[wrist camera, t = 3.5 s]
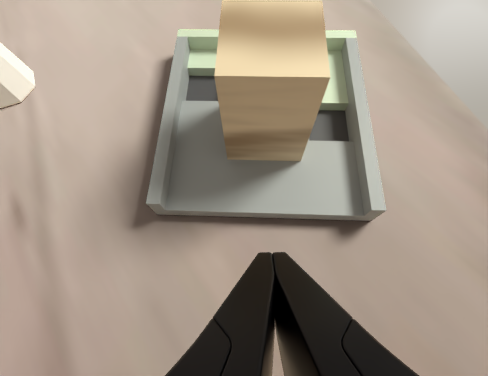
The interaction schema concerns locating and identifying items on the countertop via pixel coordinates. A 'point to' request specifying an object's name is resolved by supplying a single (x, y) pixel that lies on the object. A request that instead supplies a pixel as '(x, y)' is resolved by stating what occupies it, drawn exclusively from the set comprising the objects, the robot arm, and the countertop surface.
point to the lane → (263, 171)
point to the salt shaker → (14, 79)
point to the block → (270, 77)
